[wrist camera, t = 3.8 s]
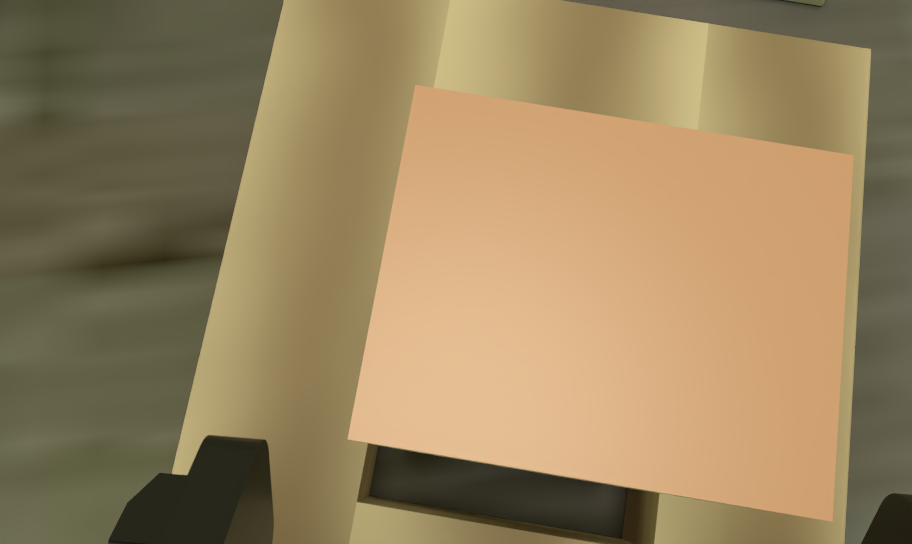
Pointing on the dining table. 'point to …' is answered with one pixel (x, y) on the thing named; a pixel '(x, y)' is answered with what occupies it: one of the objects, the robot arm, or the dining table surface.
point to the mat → (810, 2)
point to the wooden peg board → (368, 213)
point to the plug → (612, 303)
